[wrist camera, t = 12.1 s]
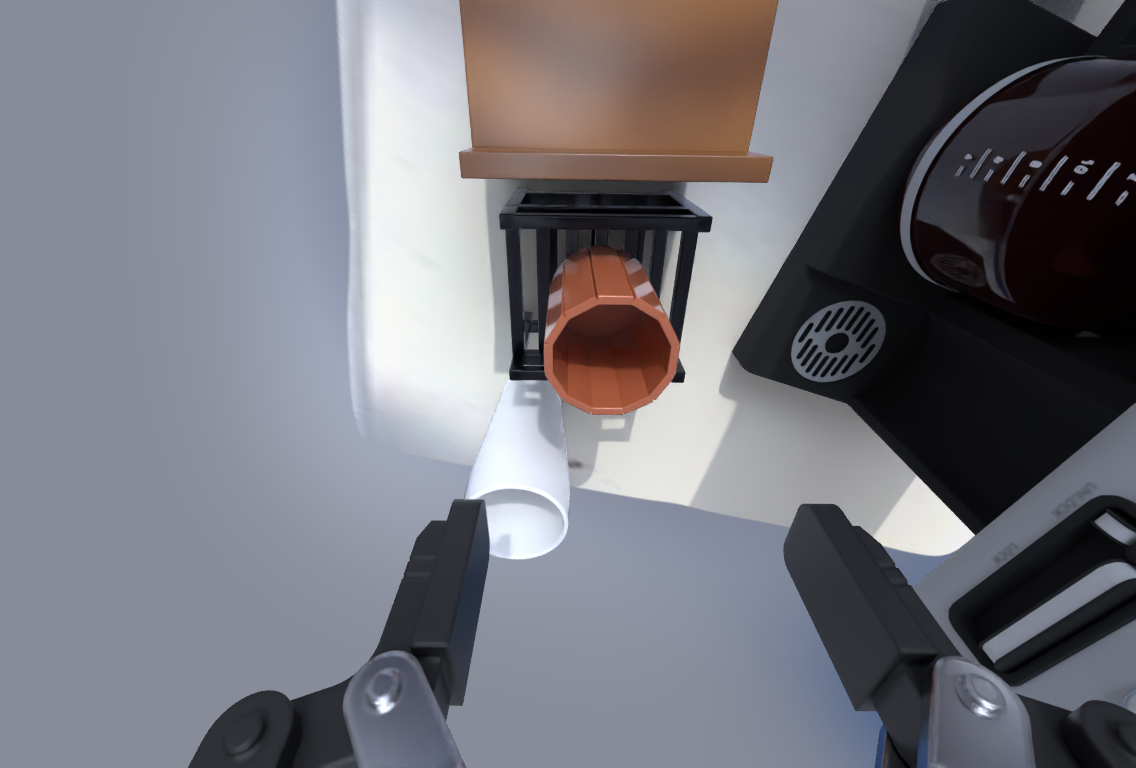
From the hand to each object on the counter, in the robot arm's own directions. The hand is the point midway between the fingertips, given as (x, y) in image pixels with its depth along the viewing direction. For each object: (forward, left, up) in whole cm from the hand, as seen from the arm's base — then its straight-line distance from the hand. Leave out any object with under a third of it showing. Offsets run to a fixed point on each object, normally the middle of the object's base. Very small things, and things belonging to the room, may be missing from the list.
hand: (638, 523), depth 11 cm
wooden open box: (-12, 0, -26) cm, 28 cm away
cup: (0, 0, -18) cm, 18 cm away
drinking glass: (+12, -5, -26) cm, 29 cm away
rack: (0, 0, -26) cm, 26 cm away
